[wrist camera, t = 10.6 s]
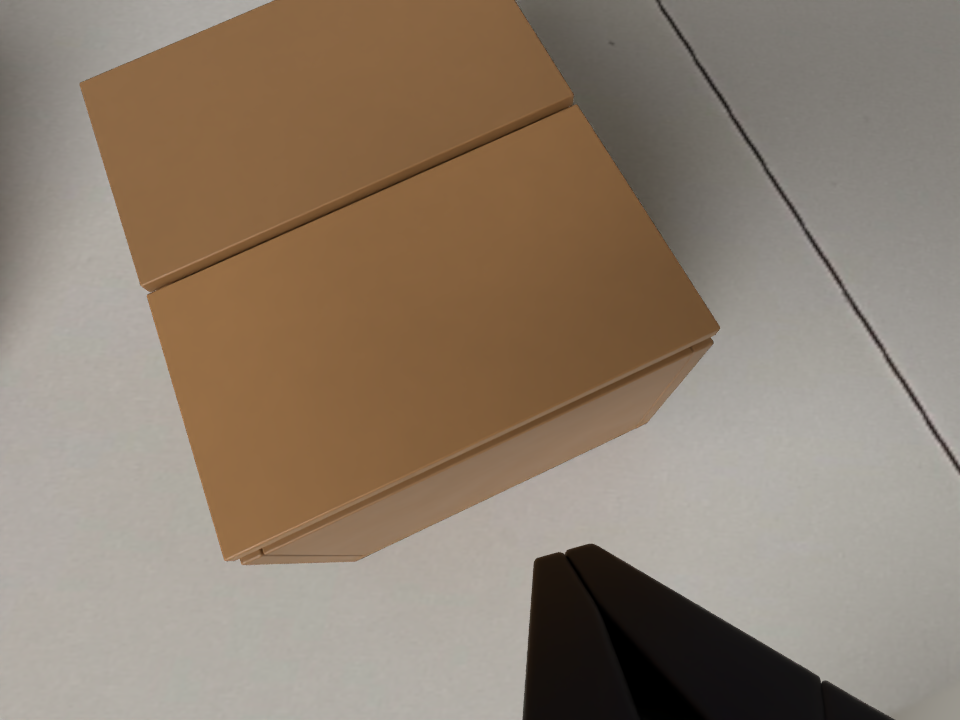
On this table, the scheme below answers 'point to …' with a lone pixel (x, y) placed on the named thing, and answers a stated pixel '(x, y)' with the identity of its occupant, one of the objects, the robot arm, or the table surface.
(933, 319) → the table surface
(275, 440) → the flap
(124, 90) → the carton
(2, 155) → the table surface
